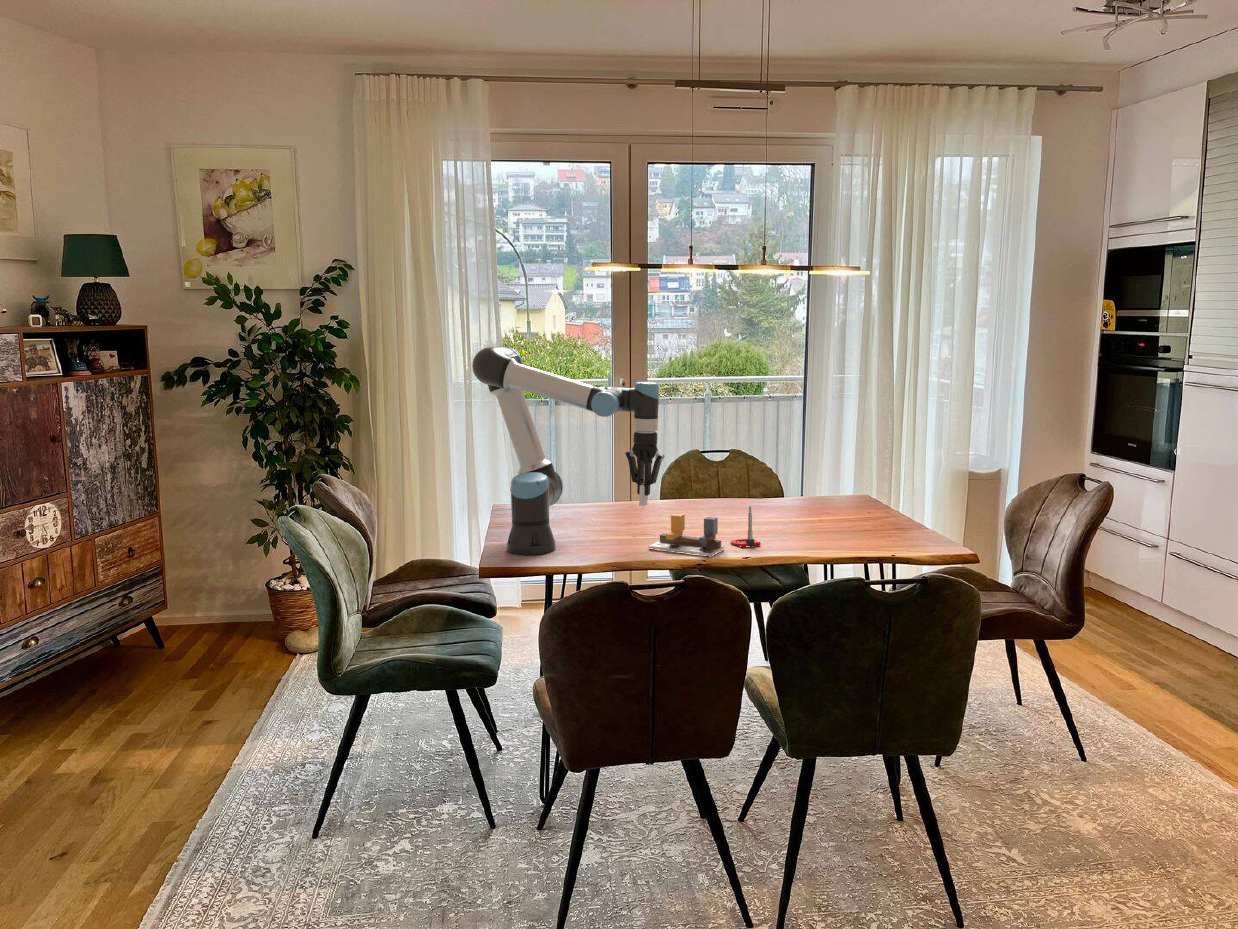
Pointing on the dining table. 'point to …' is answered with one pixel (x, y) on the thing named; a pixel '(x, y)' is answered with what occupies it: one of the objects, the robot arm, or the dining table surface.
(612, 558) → the dining table surface
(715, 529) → the fixed leg
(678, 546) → the bolt plate
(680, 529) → the orange toy chair
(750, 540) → the tow hook
